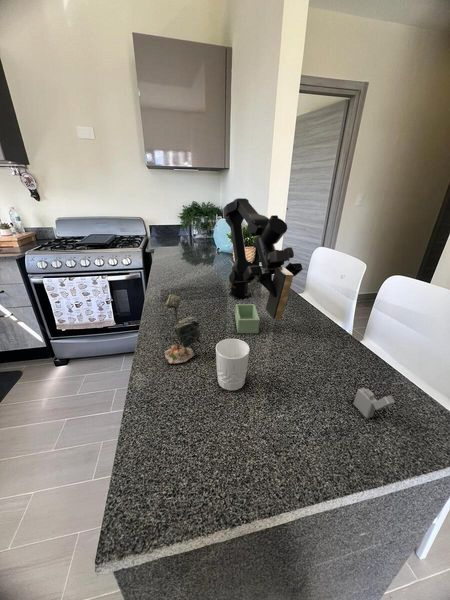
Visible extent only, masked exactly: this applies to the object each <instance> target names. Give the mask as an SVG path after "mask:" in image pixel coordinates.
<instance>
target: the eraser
mask: <svg viewBox="0 0 450 600" xmlns="http://www.w3.org/2000/svg"><path fill="white" fill-rule="evenodd" d="M282 267H283V266H281V267H276V268H275V272H274V274H273V275H272V281H273V284H274V288H275V291H276V295H277V296H276V297H273V296H272V294H271V293H270V292H269V294H268V298H267V302H266V307H265V311H266V312H267V313H268V315H269V316H270V317H271V318H272V320H282V319H283V316H284V312H285V308H286V304H287V300H288V298H289V294H290V290H291V287H292V283H293V279H294V277H295V276H294V275H293V274H292V273H291V272H289V271H288V270H287V269H285V268H282ZM293 276H294V277H293Z"/></svg>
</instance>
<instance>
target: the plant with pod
mask: <svg viewBox="0 0 450 600" xmlns="http://www.w3.org/2000/svg"><path fill="white" fill-rule="evenodd" d="M167 297H168V298H167V300H166V303H165V305H166V306H165V309H164V310H165V311H168V309H172V308H173V309H174V314H175V315H174V316H175V326H174V333H175V334H176V342H177V343H176V344H174V345H172V346H170V348H169V349H167V350H165V351H164V352H163V355H164V357H165V358H164V359H165V363H166V364H169V365H170V364H174V365H175V364H180V363H186V362H187V361H188V360H190V359H191V358H193V357H194V356H196V353H195V352H194V349H192V347H191V346H192V344H195V343H196V342H197V343H199V344H200V345H203V342H202V341H201V340H200V338H201V330H200V324H199V319H196V318H195V317H193V316H190V317H186V318H183V319H181V320H179V318H178V308H179V306H180V302H181V297H180V296H178V295H175V294H173V293H172V294H168V296H167ZM178 320H179V321H178ZM179 343H180V344H179Z"/></svg>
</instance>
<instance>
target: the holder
mask: <svg viewBox="0 0 450 600" xmlns="http://www.w3.org/2000/svg"><path fill="white" fill-rule="evenodd" d="M234 310H235V314H234V318H235V319H234V320H235V325H236V332H237V334H259V332H260V331H259V330H260V320H261V319H260V317H259V314H258V311H257V308H256V304H255V303H253V304H252V303H251V304H249V303H247V304H246V303H245V304H244V303H241V304H240V303H238V304H237V303H236V304H235V309H234Z"/></svg>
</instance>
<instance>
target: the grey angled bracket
mask: <svg viewBox="0 0 450 600" xmlns="http://www.w3.org/2000/svg"><path fill="white" fill-rule="evenodd" d="M354 397H355V398H354V400H353V403H352V404H353V405H354V407H356V409H357V410H358V411H359V412H360V413H361V414H362V415H363V417H365V419H370V418H374V415H375V412H376V411H378V410H383V409H385V408H387V407H389V406H391V405H393V404H395V403H396V401H395V399H394V398H393V396H392V395H386V396H383V397H382V398H380V399H378V400H377V398H376V397H375V393H373V391H372V390H370V388H365V387H361V388H358V389H357V392H356V395H355V396H354Z"/></svg>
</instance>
